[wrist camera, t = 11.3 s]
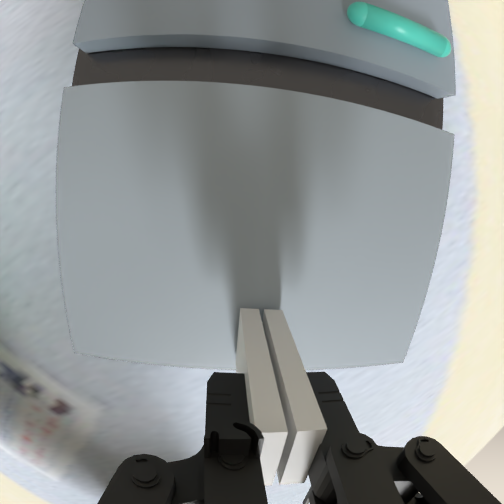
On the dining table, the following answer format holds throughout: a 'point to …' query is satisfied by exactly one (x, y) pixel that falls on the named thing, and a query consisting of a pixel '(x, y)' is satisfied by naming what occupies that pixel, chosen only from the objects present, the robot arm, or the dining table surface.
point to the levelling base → (256, 76)
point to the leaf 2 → (243, 221)
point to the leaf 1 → (290, 33)
